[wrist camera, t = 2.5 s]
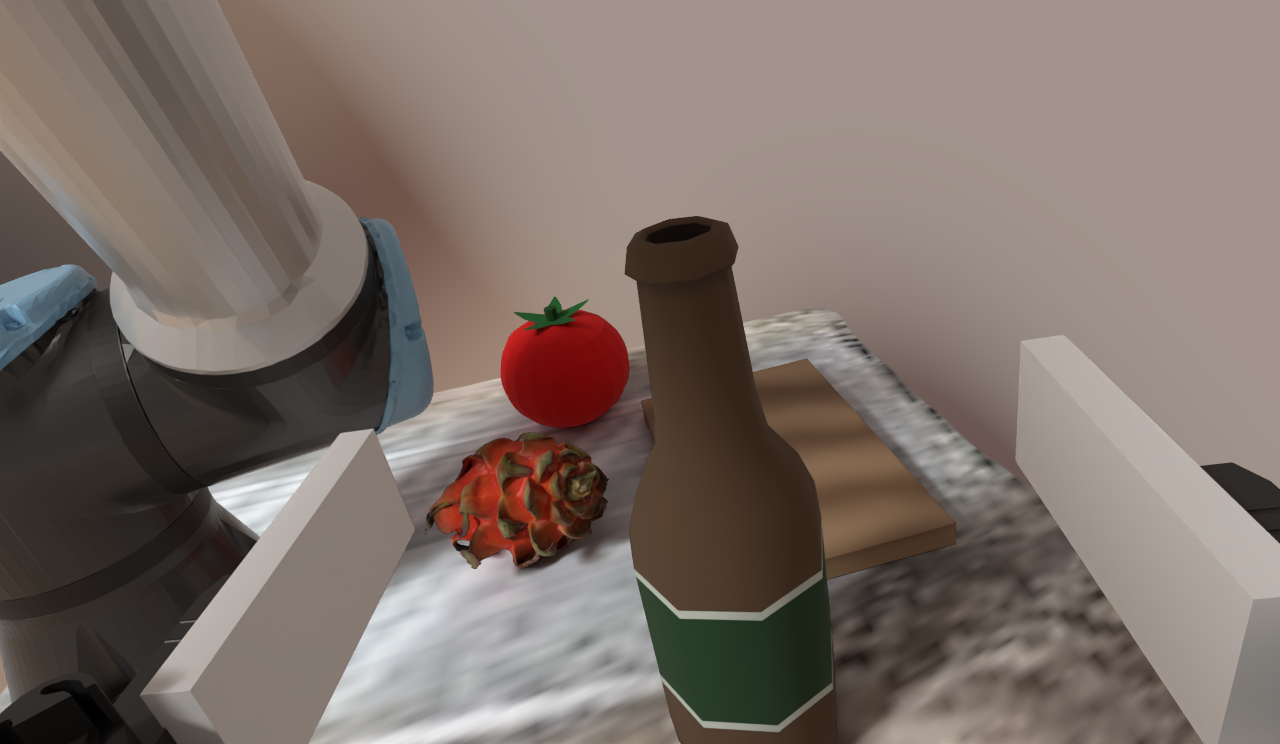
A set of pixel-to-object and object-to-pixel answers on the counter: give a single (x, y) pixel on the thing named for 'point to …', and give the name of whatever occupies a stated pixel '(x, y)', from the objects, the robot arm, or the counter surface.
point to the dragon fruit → (521, 499)
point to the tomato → (564, 366)
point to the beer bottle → (724, 514)
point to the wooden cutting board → (847, 473)
